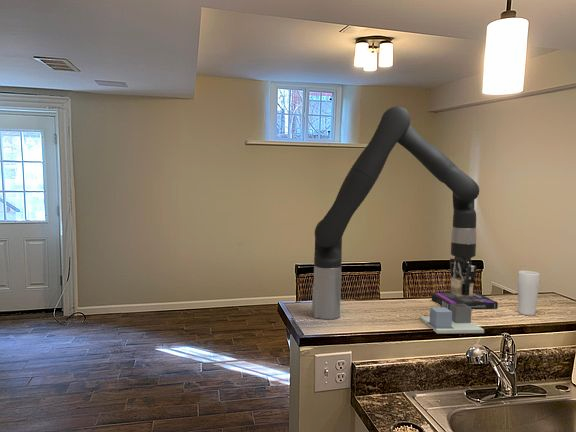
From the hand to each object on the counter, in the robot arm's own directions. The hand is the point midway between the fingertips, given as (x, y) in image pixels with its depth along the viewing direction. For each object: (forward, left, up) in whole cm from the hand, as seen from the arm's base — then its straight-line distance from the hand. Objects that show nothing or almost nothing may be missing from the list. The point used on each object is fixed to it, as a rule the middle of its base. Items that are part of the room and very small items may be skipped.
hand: (461, 292), depth 146 cm
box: (+12, +23, -11) cm, 28 cm away
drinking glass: (+29, +10, -11) cm, 33 cm away
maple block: (0, 0, 0) cm, 0 cm away
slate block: (-9, -4, -9) cm, 13 cm away
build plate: (-4, -2, -10) cm, 11 cm away
